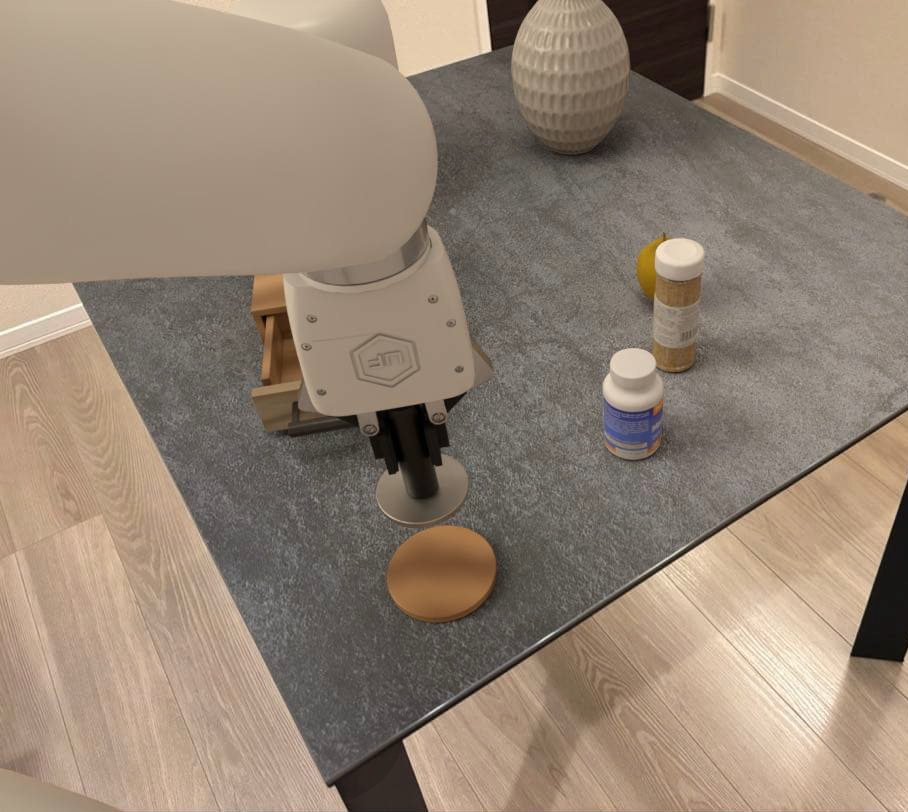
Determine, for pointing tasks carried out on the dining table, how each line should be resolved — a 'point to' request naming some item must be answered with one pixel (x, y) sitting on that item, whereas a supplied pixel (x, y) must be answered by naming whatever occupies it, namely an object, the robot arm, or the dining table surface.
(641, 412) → the pill bottle
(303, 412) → the drawer
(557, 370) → the dining table surface
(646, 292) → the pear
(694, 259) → the sprinkles bottle
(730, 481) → the dining table surface
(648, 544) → the dining table surface
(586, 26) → the vase
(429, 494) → the rod on disc base
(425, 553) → the disc
